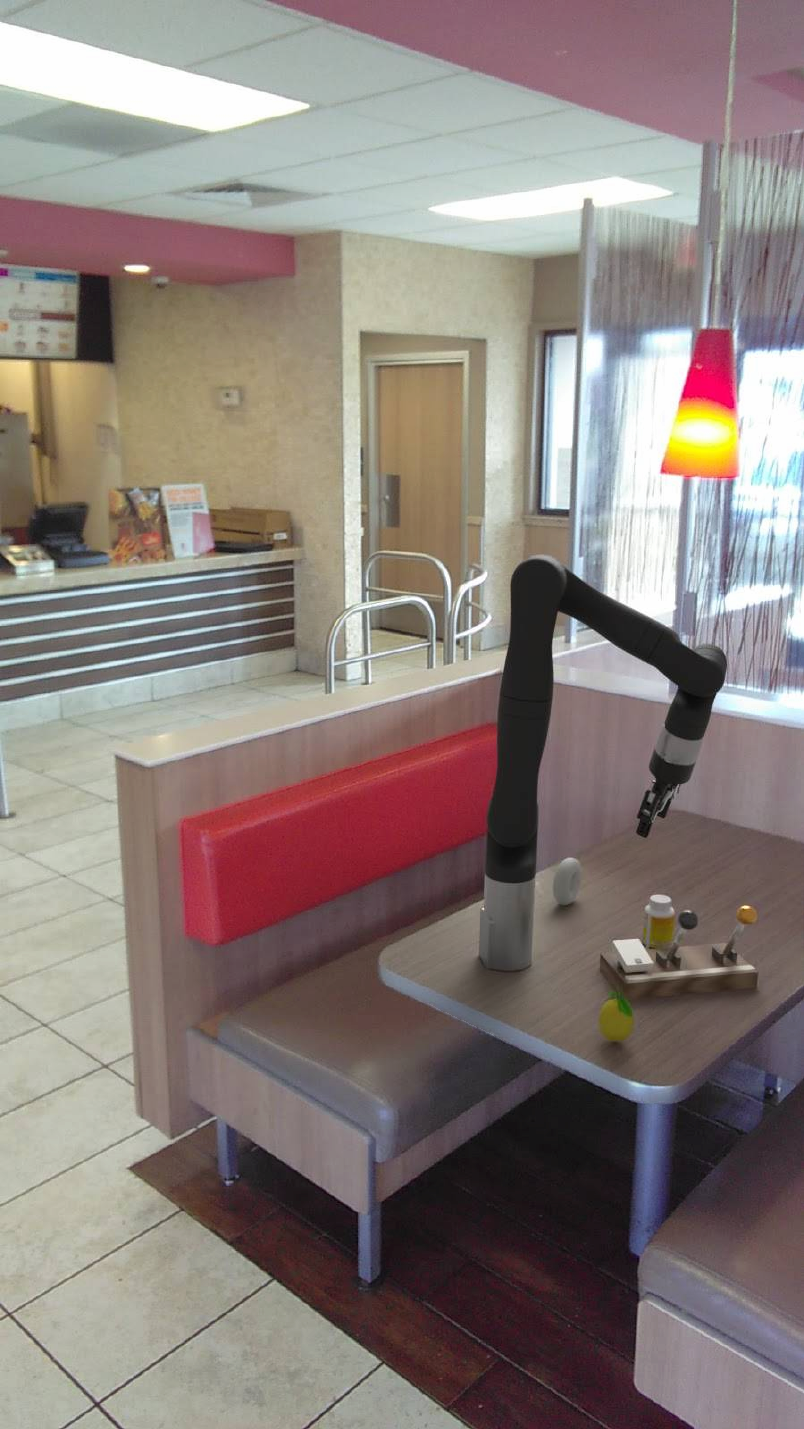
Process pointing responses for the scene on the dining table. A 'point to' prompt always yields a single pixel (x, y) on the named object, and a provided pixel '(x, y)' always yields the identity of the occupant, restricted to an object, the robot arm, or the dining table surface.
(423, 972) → the dining table surface
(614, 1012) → the lemon
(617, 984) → the panel
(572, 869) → the donut
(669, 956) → the lever black
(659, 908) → the supplement bottle
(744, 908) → the lever orange
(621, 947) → the block
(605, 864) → the dining table surface
